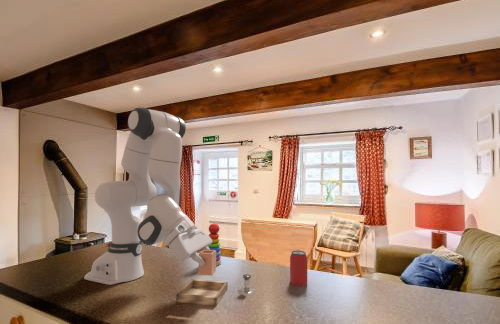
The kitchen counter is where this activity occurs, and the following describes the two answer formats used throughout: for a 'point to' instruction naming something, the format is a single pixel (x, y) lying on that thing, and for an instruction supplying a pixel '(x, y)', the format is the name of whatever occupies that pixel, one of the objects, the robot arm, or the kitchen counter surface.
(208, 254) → the collar
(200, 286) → the tray
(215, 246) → the stacking toy
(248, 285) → the silver knob
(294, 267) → the beer can
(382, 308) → the kitchen counter surface
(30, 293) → the kitchen counter surface
